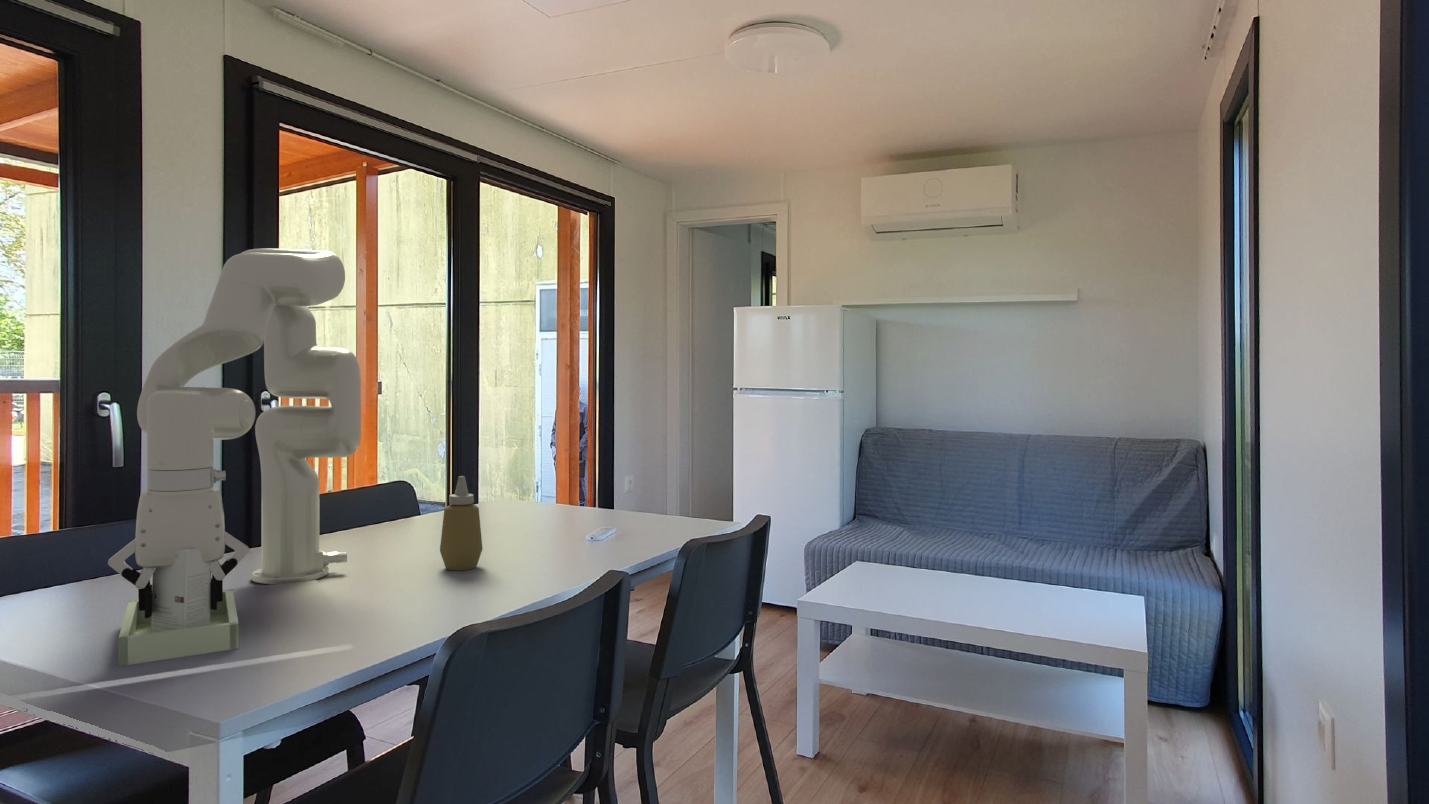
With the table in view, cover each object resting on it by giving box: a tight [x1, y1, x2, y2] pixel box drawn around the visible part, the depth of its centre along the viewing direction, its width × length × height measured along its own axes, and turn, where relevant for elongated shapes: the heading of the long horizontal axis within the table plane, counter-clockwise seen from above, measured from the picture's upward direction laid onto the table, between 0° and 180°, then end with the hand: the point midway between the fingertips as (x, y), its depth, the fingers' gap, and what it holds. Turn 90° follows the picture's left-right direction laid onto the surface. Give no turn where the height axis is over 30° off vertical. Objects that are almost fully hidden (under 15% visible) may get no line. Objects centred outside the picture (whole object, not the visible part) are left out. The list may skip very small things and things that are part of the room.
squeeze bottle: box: [439, 475, 483, 571], centre depth 157 cm, size 8×8×18 cm
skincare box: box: [151, 548, 212, 633], centre depth 109 cm, size 6×4×12 cm
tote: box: [117, 589, 240, 667], centre depth 112 cm, size 13×20×4 cm, turn 33°
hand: (181, 610), depth 109 cm, fingers closed on skincare box, 6 cm apart
